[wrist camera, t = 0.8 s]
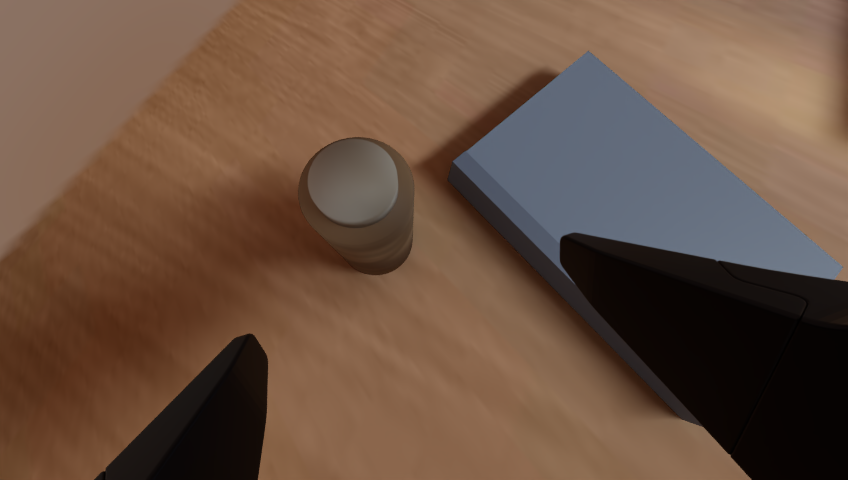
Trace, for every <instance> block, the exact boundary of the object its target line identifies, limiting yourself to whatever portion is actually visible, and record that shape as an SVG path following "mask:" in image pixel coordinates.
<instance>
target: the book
mask: <svg viewBox="0 0 848 480" xmlns="http://www.w3.org/2000/svg"><path fill="white" fill-rule="evenodd" d="M448 181H449V182H450V183H451V184H452V185H453V186H454V187H455V188H456V189H457V190H458V191H459V192H460V193H461V194H462V195H463V196H464V197H465V198H466V199H467V200H468V201H469V202H470V203H471V204H472V205H473V207H474V208H475V209H476V210H477V211H478V212H479V213H480V214H481V215H482V216H483V217H484V218H485V219H486V220H487V221H488V222H489V223H490V224H491V225H492V226H493V227H494V228H495V229H496V230H497V231H498V232H499V233H500V234H501V235H502V236H503V237H504V238H505V239H506V240H507V241H508V242H509V243H510V244H511V245H512V246H513V247H514V248H515V249H516V250H517V251H518V252H519V253H520V255H521V256H522V257H523V258H524V259H525V260H526V261H527V262H528V263H529V264H530V265H531V266H532V267H533V268H534V269H535V270H536V271H537V272H538V273H539V274H540V275H541V276H542V277H543V278H544V279H545V280H546V281H547V282H548V283H549V284H550V285H551V286H552V287H553V288H554V289H555V290H556V291H557V292H558V293H559V294H560V295H561V296H562V297H563V298H564V299H565V300H566V301H567V302H568V304H569V305H570V306H571V307H572V308H573V309H574V310H575V311H576V312H577V313H578V314H579V315H580V316H581V317H582V318H583V319H584V320H585V321H586V322H587V323H588V324H589V325H590V326H591V327H592V328H593V329H594V330H595V331H596V332H597V333H598V334H599V335H600V336H601V337H602V338H603V339H604V340H605V341H606V342H607V343H608V344H609V345H610V346H611V347H612V348H613V349H614V350H615V352H616V353H617V354H618V355H619V356H620V357H621V358H622V359H623V360H624V361H625V362H626V363H627V364H628V365H629V366H630V367H631V368H632V369H633V370H634V371H635V372H636V373H637V374H638V375H639V376H640V377H641V378H642V379H643V380H644V381H645V382H646V383H647V384H648V385H649V386H650V387H651V388H652V389H653V390H654V391H655V392H656V393H657V394H658V395H659V396H660V397H661V398H662V399H663V401H664V402H665V403H666V404H667V405H668V406H669V407H670V408H671V409H672V410H673V411H674V412H675V413H676V414H677V415H678V416H679V417H680V418H681V419H682V420H685V421H688V422H691V423H693V424H696V425H699V426H702V425H701V424H700V423H699V422H698V421H697V420H696V418H695V417H694V416H693V415H692V414H691V413H690V412H689V411H688V410H687V409H686V408H685V407H684V405H683V404H682V403H681V402H680V401H679V400H678V399H677V398H676V397H675V396H674V395H673V394H672V392H671V391H670V390H669V389H668V388H667V387H666V386H665V385H664V384H663V383H662V382H661V381H660V380H659V378H658V377H657V376H656V375H655V374H654V373H653V372H652V371H651V370H650V369H649V368H648V367H647V365H646V364H645V363H644V362H643V361H642V360H641V359H640V358H639V357H638V356H637V355H636V354H635V352H634V351H633V350H632V349H631V348H630V347H629V346H628V345H627V344H626V343H625V342H624V341H623V340H622V338H621V337H620V336H619V335H618V334H617V333H616V332H615V331H614V330H613V329H612V328H611V327H610V325H609V324H608V323H607V322H606V321H605V320H604V319H603V318H602V317H601V316H600V315H599V314H598V312H597V311H596V310H595V309H594V308H593V307H592V306H591V304H590V303H589V302H588V301H587V299H586V298H585V297H584V295H583V294H582V293H581V291H580V290H579V289H578V287H577V286H576V285H575V283H574V282H573V281H572V279H571V278H570V277H569V275H568V274H567V273H566V271H565V270H564V269H563V267H562V265H561V263H560V239H561V237H562V236H563V235H567V234H570V233H573V232H577V233H582V234H587V235H592V236H597V237H602V238H607V239H613V240H618V241H623V242H628V243H633V244H638V245H643V246H648V247H654V248H659V249H664V250H669V251H674V252H679V253H684V254H690V255H695V256H700V257H705V258H710V259H715V260H716V261H719V260H721V261H726V262H731V263H736V264H741V265H747V266H752V267H758V268H763V269H769V270H775V271H782V272H788V273H794V274H800V275H807V276H813V277H820V278H827V279H833V280H834V279H835V278H836V276H837V275H838V273H839V272H840V271H841V269H842V268H843V267H842V266H841V265H840V264H839V263H838V262H837V261H835V260H834V259H833V258H832V257H831V256H830V255H828V254H827V253H826V252H825V251H824V250H822V249H821V248H820V247H819V246H818V245H817V244H815V243H814V242H813V241H812V240H811V239H809V238H808V237H807V236H806V235H805V234H804V233H802V232H801V231H800V230H799V229H798V228H797V227H795V226H794V225H793V224H792V223H791V222H789V221H788V220H787V219H786V218H785V217H784V216H782V215H781V214H780V213H779V212H778V211H777V210H775V209H774V208H773V207H772V206H771V205H769V204H768V203H767V202H766V201H765V200H764V199H762V198H761V197H760V196H759V195H758V194H757V193H755V192H754V191H753V190H752V189H751V188H749V187H748V186H747V185H746V184H745V183H744V182H742V181H741V180H740V179H739V178H738V177H736V176H735V175H734V174H733V173H732V172H731V171H729V170H728V169H727V168H726V167H725V166H724V165H722V164H721V163H720V162H719V161H718V160H716V159H715V158H714V157H713V156H712V155H711V154H709V153H708V152H707V151H706V150H705V149H704V148H702V147H701V146H700V145H699V144H698V143H696V142H695V141H694V140H693V139H692V138H691V137H689V136H688V135H687V134H686V133H685V132H684V131H682V130H681V129H680V128H679V127H678V126H676V125H675V124H674V123H673V122H672V121H671V120H669V119H668V118H667V117H666V116H665V115H663V114H662V113H661V112H660V111H659V110H658V109H656V108H655V107H654V106H653V105H652V104H651V103H649V102H648V101H647V100H646V99H645V98H643V97H642V96H641V95H640V94H639V93H638V92H636V91H635V90H634V89H633V88H632V87H631V86H629V85H628V84H627V83H626V82H625V81H623V80H622V79H621V78H620V77H619V76H618V75H616V74H615V73H614V72H613V71H612V70H610V69H609V68H608V67H607V66H606V65H605V64H603V63H602V62H601V61H600V60H599V59H598V58H596V57H595V56H594V55H593V54H592V53H590V52H589V51H588V52H586V53H585V54H584V55H583V56H582V57H580V58H579V59H578V60H577V61H575V62H574V63H573V64H572V65H571V66H569V67H568V68H567V69H566V70H565V71H563V72H562V73H561V74H560V75H558V76H557V77H556V78H555V79H554V80H552V81H551V82H550V83H549V84H548V85H546V86H545V87H544V88H543V89H541V90H540V91H539V92H538V93H537V94H535V95H534V96H533V97H532V98H531V99H529V100H528V101H527V102H526V103H524V104H523V105H522V106H521V107H520V108H518V109H517V110H516V111H515V112H513V113H512V114H511V115H510V116H509V117H507V118H506V119H505V120H504V121H503V122H501V123H500V124H499V125H498V126H496V127H495V128H494V129H493V130H492V131H490V132H489V133H488V134H487V135H486V136H484V137H483V138H482V139H481V140H479V141H478V142H477V143H476V144H475V145H473V146H472V147H471V148H470V149H469V150H467V151H465V152H463V153H462V154H461V155H460V156H459V157H457V158H456V159H455V160H454V161H453V162H452V165H451V169H450V172H449V176H448ZM702 427H703V426H702Z"/></svg>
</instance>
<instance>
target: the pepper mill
mask: <svg viewBox="0 0 848 480" xmlns="http://www.w3.org/2000/svg"><path fill="white" fill-rule="evenodd" d="M298 199H299V204H300V208H301V210H302V213H303V215H304V217H305V218H306V220H307V221H308V223H309V224H310V225H311V226H312V227H313V228H314V229H315V230H316V231H317V232H318V233H319V234H320V235H321V236H322V237H323V238H324V239H325V240H326V241H327V242H328V243H329V244H330V245H331V246H332V247H333V248H334V249H335V250H336V251H337V252H338V253H339V254H340V255H341V256H342V257H343V258H344V259H345V260H346V261H347V262H348V263H349V264H350V265H351V266H352V267H354V268H355V269H357V270H358V271H360V272H363V273H365V274H370V275H382V274H386V273H389V272H392V271H394V270H395V269H397V268H398V267H399V266H401V265H402V264H403V263H404V261H405V260H406V259H407V257H408V255H409V253H410V251H411V247H412V238H413V212H414V180H413V176H412V173H411V170H410V168H409V166H408V164H407V163H406V161H405V160H404V158H403V157H402V156H401V155H400V154H399V153H398V152H397V151H396V150H395V149H393V148H392V147H390V146H389V145H387V144H385V143H383V142H380V141H378V140H374V139H370V138H363V137H353V138H346V139H342V140H338V141H335V142H333V143H331V144H329V145H327V146H325V147H324V148H322V149H321V150H320V151H318V152H317V153H316V154H315V155H314V156H313V157H312V158H311V159H310V160H309V162H308V163H307V165H306V166H305V168H304V170H303V172H302V175H301V177H300V181H299V187H298Z"/></svg>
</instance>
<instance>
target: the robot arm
mask: <svg viewBox="0 0 848 480" xmlns="http://www.w3.org/2000/svg"><path fill="white" fill-rule="evenodd" d="M560 263H561V265H562V267H563V269H564V270H565V271H566V273H567V274H568V275H569V277H570V278H571V279H572V281H573V282H574V283H575V285H576V286H577V287H578V289H579V290H580V291H581V293H582V294H583V295H584V297H585V298H586V299H587V301H588V302H589V303H590V304H591V306H592V307H593V308H594V309H595V310H596V311H597V312H598V314H599V315H600V316H601V317H602V318H603V319H604V320H605V321H606V322H607V323H608V324H609V325H610V327H611V328H612V329H613V330H614V331H615V332H616V333H617V334H618V335H619V336H620V337H621V338H622V340H623V341H624V342H625V343H626V344H627V345H628V346H629V347H630V348H631V349H632V350H633V351H634V352H635V354H636V355H637V356H638V357H639V358H640V359H641V360H642V361H643V362H644V363H645V364H646V365H647V367H648V368H649V369H650V370H651V371H652V372H653V373H654V374H655V375H656V376H657V377H658V378H659V380H660V381H661V382H662V383H663V384H664V385H665V386H666V387H667V388H668V389H669V390H670V391H671V392H672V394H673V395H674V396H675V397H676V398H677V399H678V400H679V401H680V402H681V403H682V404H683V405H684V407H685V408H686V409H687V410H688V411H689V412H690V413H691V414H692V415H693V416H694V417H695V418H696V420H697V421H698V422H699V423H700V424H701V425H702V426H703V427H704V428H705V429H706V430H707V431H708V432H709V434H710V435H711V436H712V437H713V438H714V439H715V440H716V441H717V442H718V443H719V444H720V445H721V447H722V448H723V449H724V450H725V451H726V452H727V453H728V454H730V455H731V458H732V459H733V460H734V461H735V462H736V463H737V464H738V465H739V466H740V467H741V469H742V470H743V471H744V472H745V473H746V474H747V475H748V476H749V477H750V478H751V479H752V480H848V282H846V281H840V280H833V279H827V278H820V277H813V276H807V275H800V274H794V273H788V272H782V271H775V270H769V269H763V268H758V267H752V266H747V265H741V264H736V263H731V262H726V261H721V260H719V261H716V260H715V259H710V258H705V257H700V256H695V255H690V254H684V253H679V252H674V251H669V250H664V249H659V248H654V247H648V246H643V245H638V244H633V243H628V242H623V241H618V240H613V239H607V238H602V237H597V236H592V235H587V234H582V233H577V232H573V233H570V234H567V235H563V236H562V237H561V239H560ZM267 384H268V358H267V355H266V353H265V351H264V350H263V348H262V347H261V345H260V344H259V342H258V340H257V339H256V337H255V336H254V335H253V334H246V335H243V336H239V337H236V338H234V339H233V340H232V341H231V342H230V343H229V344H228V345H227V346H226V347H225V348H224V349H223V350H222V351H221V352H220V353H219V354H218V355H217V356H216V357H215V358H214V359H213V360H212V361H211V362H210V363H209V364H208V365H207V366H206V367H205V368H204V369H203V370H202V371H201V373H200V374H199V375H198V376H197V377H196V378H195V379H194V380H193V381H192V382H191V383H190V384H189V385H188V386H187V387H186V388H185V389H184V390H183V391H182V392H181V393H180V394H179V395H178V396H177V397H176V398H175V399H174V400H173V401H172V402H171V403H170V404H169V405H168V406H167V407H166V408H165V409H164V410H163V411H162V412H161V413H160V414H159V415H158V416H157V417H156V418H155V419H154V420H153V421H152V422H151V423H150V424H149V425H148V426H147V427H146V428H145V429H144V430H143V431H142V432H141V433H140V434H139V435H138V436H137V437H136V438H135V439H134V440H133V441H132V442H131V443H130V444H129V445H128V446H127V447H126V448H125V449H124V450H123V451H122V452H121V453H120V454H119V455H118V456H117V457H116V458H115V459H114V460H113V461H112V462H111V463H110V464H109V465H108V466H107V467H106V471H103V472H101V473H100V474H99V475H98V476H97V477H96V478H95V479H94V480H258V474H259V467H260V460H261V453H262V446H263V439H264V432H265V425H266V415H267Z"/></svg>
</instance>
